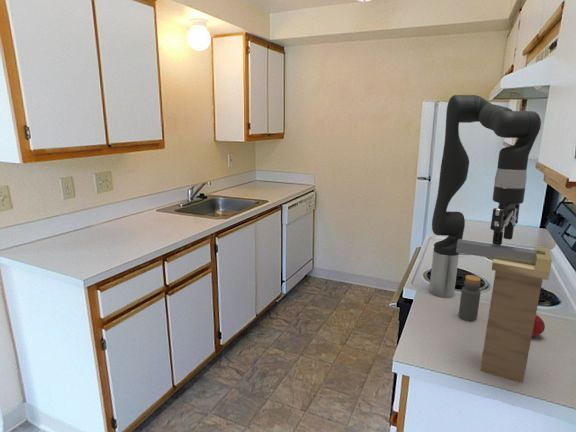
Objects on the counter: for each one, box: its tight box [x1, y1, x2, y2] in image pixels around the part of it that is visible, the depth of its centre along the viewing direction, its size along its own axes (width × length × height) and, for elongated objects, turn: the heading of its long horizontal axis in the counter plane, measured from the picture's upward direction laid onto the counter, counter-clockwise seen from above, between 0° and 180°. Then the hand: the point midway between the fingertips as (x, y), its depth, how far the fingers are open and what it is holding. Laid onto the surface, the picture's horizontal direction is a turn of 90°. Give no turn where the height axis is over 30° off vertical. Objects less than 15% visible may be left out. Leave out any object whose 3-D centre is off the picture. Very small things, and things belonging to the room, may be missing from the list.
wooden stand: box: [480, 258, 551, 384], centre depth 100 cm, size 10×12×32 cm
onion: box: [532, 313, 546, 337], centre depth 119 cm, size 6×6×8 cm
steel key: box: [456, 238, 553, 272], centre depth 98 cm, size 10×21×3 cm, turn 60°
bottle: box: [458, 274, 482, 322], centre depth 129 cm, size 6×6×15 cm
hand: (502, 241), depth 107 cm, fingers open, 8 cm apart
